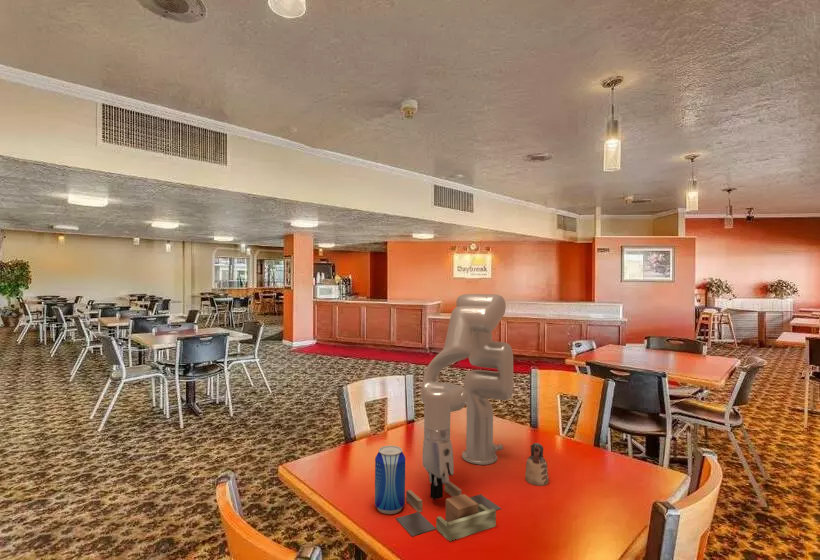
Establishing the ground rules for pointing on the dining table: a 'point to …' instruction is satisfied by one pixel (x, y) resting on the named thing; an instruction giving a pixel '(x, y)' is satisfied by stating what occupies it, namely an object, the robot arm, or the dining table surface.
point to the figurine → (536, 467)
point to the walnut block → (460, 507)
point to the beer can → (390, 480)
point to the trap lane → (453, 529)
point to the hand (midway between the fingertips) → (436, 497)
